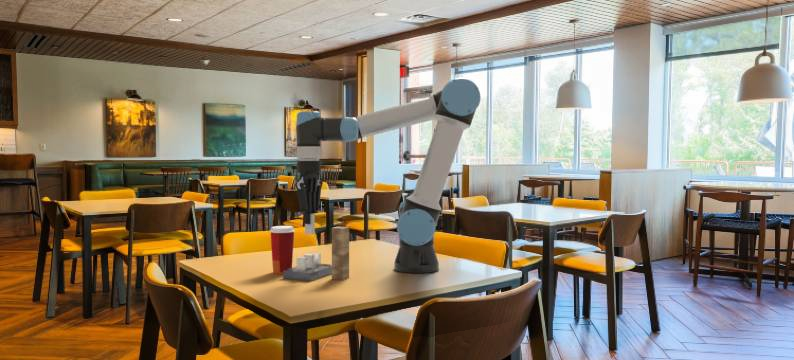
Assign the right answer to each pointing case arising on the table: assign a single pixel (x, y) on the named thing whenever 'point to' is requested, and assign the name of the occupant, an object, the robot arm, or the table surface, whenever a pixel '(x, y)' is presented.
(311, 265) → the breaker paddle
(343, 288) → the table surface
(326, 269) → the breaker board
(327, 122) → the robot arm
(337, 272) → the mottled brown post
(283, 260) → the coffee cup
